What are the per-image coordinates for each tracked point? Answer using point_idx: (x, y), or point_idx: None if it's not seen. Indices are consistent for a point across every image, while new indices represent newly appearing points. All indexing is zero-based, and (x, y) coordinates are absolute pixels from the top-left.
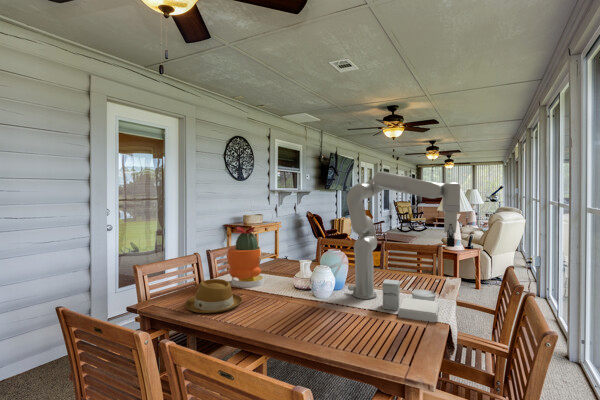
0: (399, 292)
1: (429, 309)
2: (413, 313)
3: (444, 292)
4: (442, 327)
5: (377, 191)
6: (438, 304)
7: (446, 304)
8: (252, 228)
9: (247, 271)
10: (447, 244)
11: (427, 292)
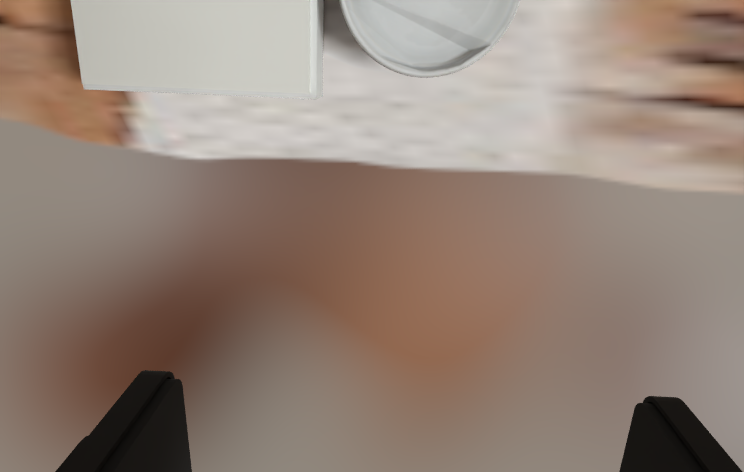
0: None
1: (124, 39)
2: None
3: (712, 136)
4: (60, 115)
5: None
6: (289, 96)
7: (445, 144)
8: None
9: None
10: (127, 404)
11: (452, 11)
